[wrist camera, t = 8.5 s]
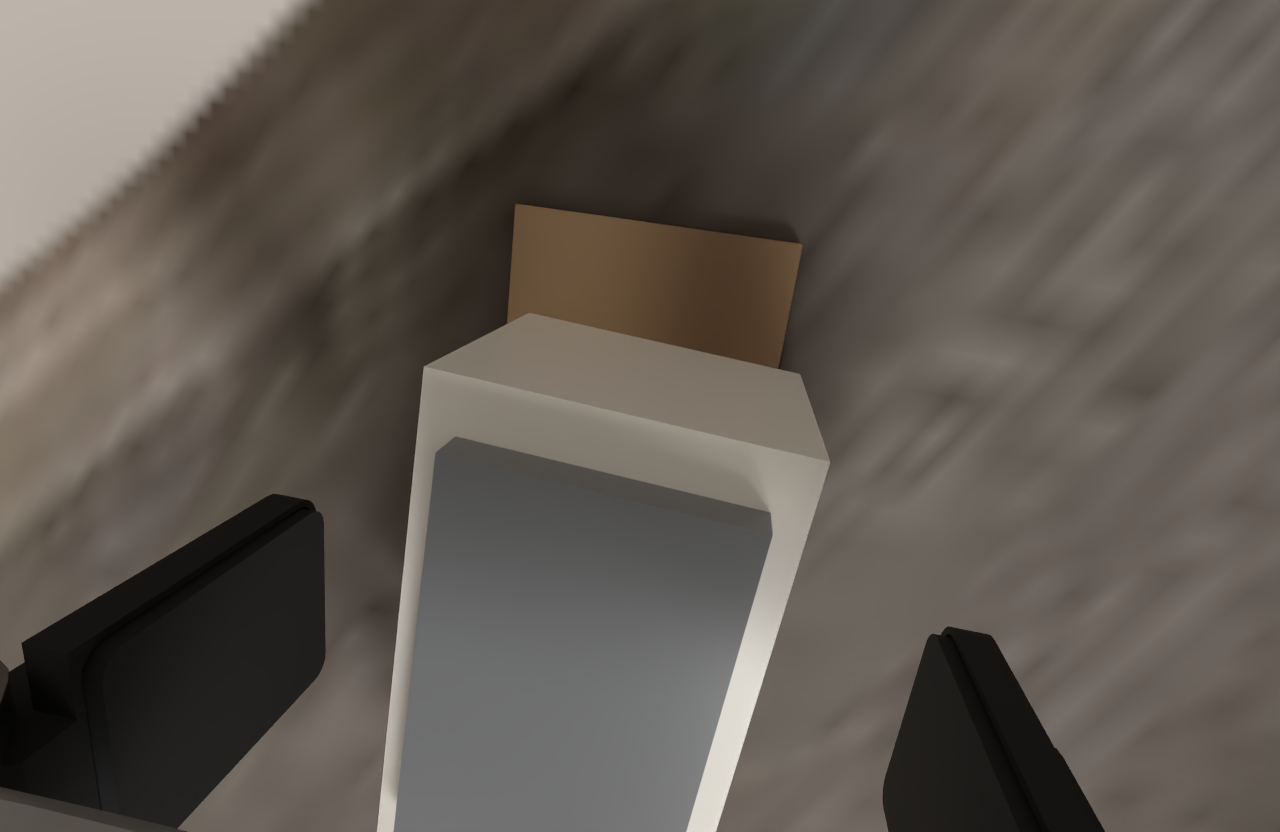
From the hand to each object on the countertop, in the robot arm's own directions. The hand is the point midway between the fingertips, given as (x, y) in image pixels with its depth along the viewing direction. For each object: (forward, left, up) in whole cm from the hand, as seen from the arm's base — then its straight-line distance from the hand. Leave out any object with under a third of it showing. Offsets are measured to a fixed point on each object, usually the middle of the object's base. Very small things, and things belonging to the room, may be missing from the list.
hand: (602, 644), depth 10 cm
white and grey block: (0, 0, -3) cm, 3 cm away
